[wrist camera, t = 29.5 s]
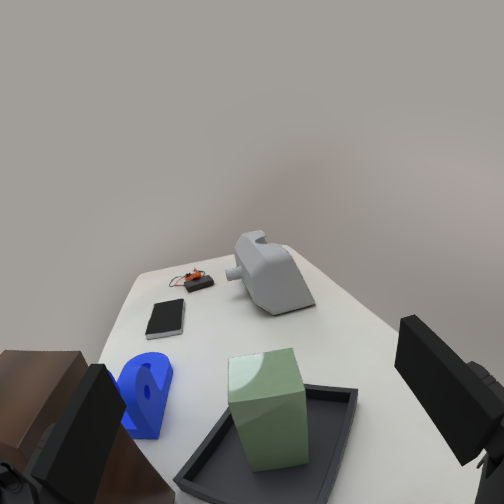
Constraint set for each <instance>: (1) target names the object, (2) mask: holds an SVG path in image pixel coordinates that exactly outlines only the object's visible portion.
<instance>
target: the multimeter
mask: <svg viewBox="0 0 504 504" xmlns="http://www.w3.org/2000/svg"><path fill="white" fill-rule="evenodd" d="M193 271H196V273H193V274H190V273H189V274H188V273H187V274H186V275H185V276H184V277H185V280H186V282H184V284H185V285H177V286H185V287H186V289H187V291H188V292H191V291H194V290H197V289H200V288H204V287H207V286H211V285H213V284H214V281H213V279H212V278H211V277H210V276H209V275H206V276H204V274H205V272H204V274H203V275H201V273H200V272H203V271H199V272H198V273H197V270H196V269H194V270H193ZM201 276H202V277H201ZM175 278H176V277H175ZM182 278H183V277H182ZM179 280H180V279H179ZM171 282H172V281H171ZM176 283H177V282H176ZM169 286H170V285H169ZM174 286H176V285H174ZM170 287H173V286H170Z"/></svg>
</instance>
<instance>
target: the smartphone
mask: <svg viewBox="0 0 504 504" xmlns="http://www.w3.org/2000/svg"><path fill="white" fill-rule="evenodd" d="M184 303H185V302H184V299H177V300H172V301H167V302H162V303H156V304H154V305H153V308H152V312H151V315H150V319H149V322H148V326H147V330H146V333H145V335H146V338H147V339H154V338H160V337H166V336H171V335H177V334H181V333H182V332H183V317H184V308H185V304H184Z"/></svg>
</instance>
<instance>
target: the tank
mask: <svg viewBox="0 0 504 504" xmlns="http://www.w3.org/2000/svg"><path fill="white" fill-rule="evenodd" d="M266 236H267V235H266V234H265V233H264V232H262V231H261V230H257V231H252V232H247V233H243V234H242V236H241V237H240V239H239V240H238V242H237V244H236V245H235V247H234V254H235V259H236V265H237V267H236V268H232V269H228V270H225V272H226V277H227V281H232V280H237V279H242V280H243V282H244V284H245V286H246V288H247V289H248V291H249V293H250V295H251V297H252V299H253V301H254V303H255V304H257V305H258V306H260V307H261V308H263V309H264V310H266V311H268V312H269V313H271V314H272V315H277V314H281V313H285V312H288V311H292V310H296V309H300V308H303V307H307V306H311V305H314V304H316V303H315V300H314V299H313V297H312V295H311V293H310V291H309V289H308V287H307V285H306V283H305V281H304V279H303V277H302V275H301V273H300V271H299V269H298V267H297V265H296V263H295V261H294V260H293V258H292V256H291V255H290V253H289V252H288V251H287V250H286V249H284V248H283V247H282V246H280V245H279V244H277V243H272V244H267V243H266V241H265V239H264V237H266Z"/></svg>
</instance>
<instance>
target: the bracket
mask: <svg viewBox="0 0 504 504" xmlns="http://www.w3.org/2000/svg"><path fill="white" fill-rule="evenodd" d="M108 372H109V374H110V376H111V378H112V380H113V382H114V384H115V386H116V388H117V390H118V391H119V393H120V395H121V397H122V399H123V400H124V402H125V404H126V406H127V407H126V410H125V412H124V415H123V418H122V420H121V423H122V425H123V426H124V428H125V429H126V431H127V432H128V434H129V435H130V437H131V438H134V439H158V437H159V432H160V428H161V423H162V418H163V414H164V409H165V405H166V400H167V396H168V392H169V387H170V383H171V379H172V375H173V370H172V367H171V364H170V362H169V359H168V357H167V356H166V355H164V354H162V353H158V352H149V353H144V354H141V355H138V356H136V357H134V358H132V359H131V360H130V361H128V362H127V363H126V364H125V366H124V368H123V370H122V372H121V374H120V376H119V378H118V381H117V383H116V381H115V379H114V377H113V375H112V374H111V373H110V371H109V370H108Z"/></svg>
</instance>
